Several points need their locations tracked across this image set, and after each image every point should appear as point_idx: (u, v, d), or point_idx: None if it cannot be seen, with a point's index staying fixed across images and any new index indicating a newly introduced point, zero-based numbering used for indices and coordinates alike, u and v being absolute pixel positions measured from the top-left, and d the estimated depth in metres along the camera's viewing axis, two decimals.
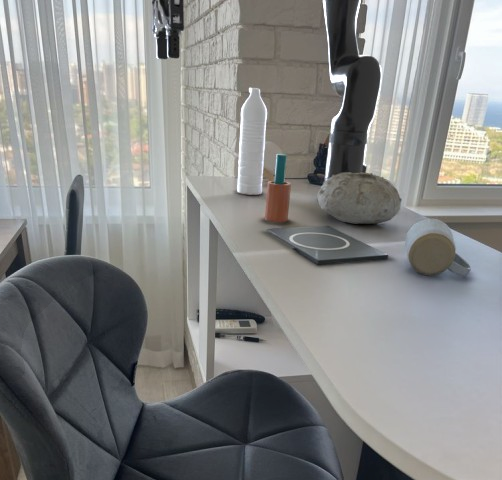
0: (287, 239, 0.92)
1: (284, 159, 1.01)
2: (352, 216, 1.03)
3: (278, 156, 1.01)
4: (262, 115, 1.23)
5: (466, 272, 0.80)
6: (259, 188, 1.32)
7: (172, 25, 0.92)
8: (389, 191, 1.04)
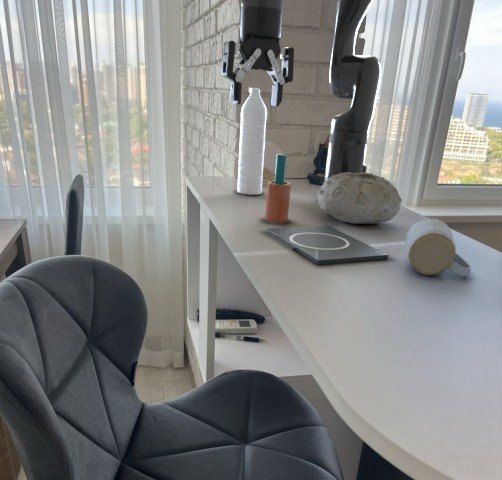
0: (287, 239, 0.92)
1: (284, 159, 1.01)
2: (352, 216, 1.03)
3: (278, 156, 1.01)
4: (262, 115, 1.23)
5: (466, 272, 0.80)
6: (259, 188, 1.32)
7: (222, 73, 0.94)
8: (389, 191, 1.04)
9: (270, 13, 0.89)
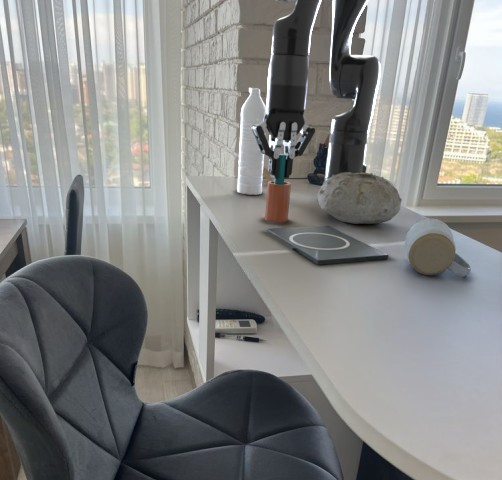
0: (287, 239, 0.92)
1: (284, 159, 1.01)
2: (352, 216, 1.03)
3: None
4: (262, 115, 1.23)
5: (466, 272, 0.80)
6: (259, 188, 1.32)
7: (261, 150, 1.00)
8: (389, 191, 1.04)
9: (295, 91, 0.93)
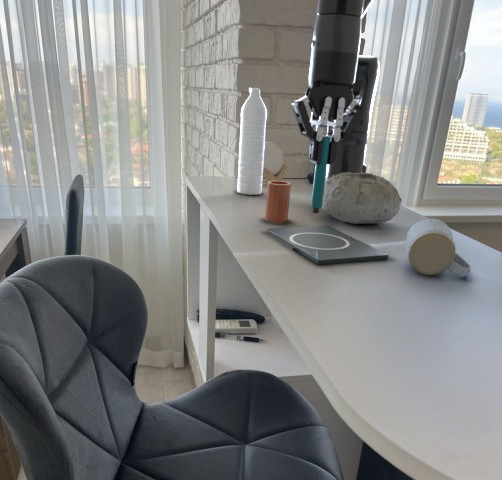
0: (287, 239, 0.92)
1: (328, 142, 0.86)
2: (352, 216, 1.03)
3: None
4: (262, 115, 1.23)
5: (466, 272, 0.80)
6: (259, 188, 1.32)
7: None
8: (389, 191, 1.04)
9: (345, 58, 0.78)
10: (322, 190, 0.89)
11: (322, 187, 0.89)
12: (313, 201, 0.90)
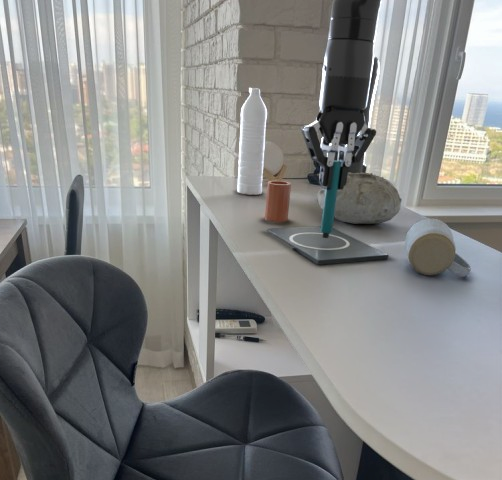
0: (287, 239, 0.92)
1: (339, 167, 0.84)
2: (352, 216, 1.03)
3: None
4: (262, 115, 1.23)
5: (466, 272, 0.80)
6: (259, 188, 1.32)
7: None
8: (389, 191, 1.04)
9: (357, 84, 0.76)
10: (332, 215, 0.88)
11: (332, 212, 0.87)
12: (323, 226, 0.88)
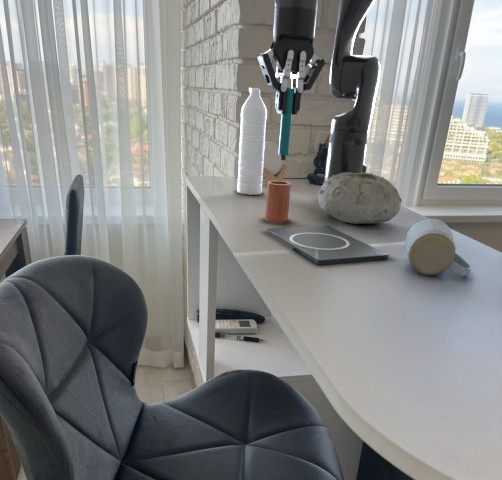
0: (287, 239, 0.92)
1: (292, 93, 0.95)
2: (352, 216, 1.03)
3: None
4: (262, 115, 1.23)
5: (466, 272, 0.80)
6: (259, 188, 1.32)
7: (267, 83, 0.94)
8: (389, 191, 1.04)
9: (304, 13, 0.87)
10: (288, 138, 0.99)
11: (288, 135, 0.98)
12: (280, 149, 1.00)
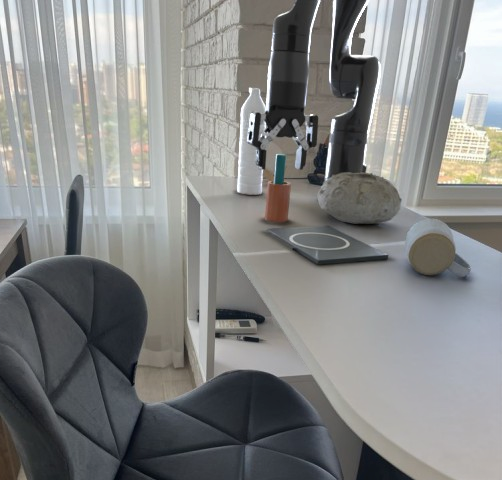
0: (287, 239, 0.92)
1: (284, 159, 1.01)
2: (352, 216, 1.03)
3: (278, 156, 1.01)
4: None
5: (466, 272, 0.80)
6: (259, 188, 1.32)
7: (248, 141, 0.98)
8: (389, 191, 1.04)
9: (295, 87, 0.93)
10: None
11: None
12: None
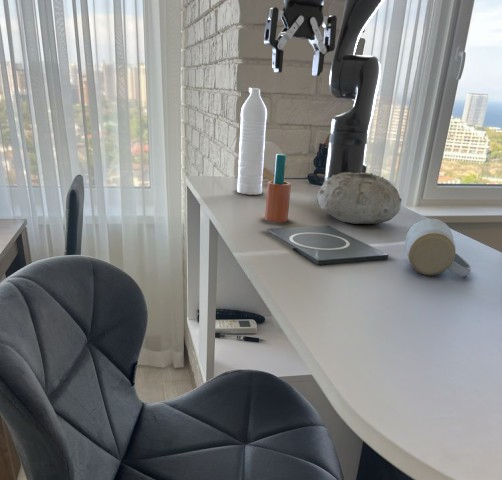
0: (287, 239, 0.92)
1: (284, 159, 1.01)
2: (352, 216, 1.03)
3: (278, 156, 1.01)
4: (262, 115, 1.23)
5: (466, 272, 0.80)
6: (259, 188, 1.32)
7: (264, 40, 0.95)
8: (389, 191, 1.04)
9: None
10: None
11: None
12: None
